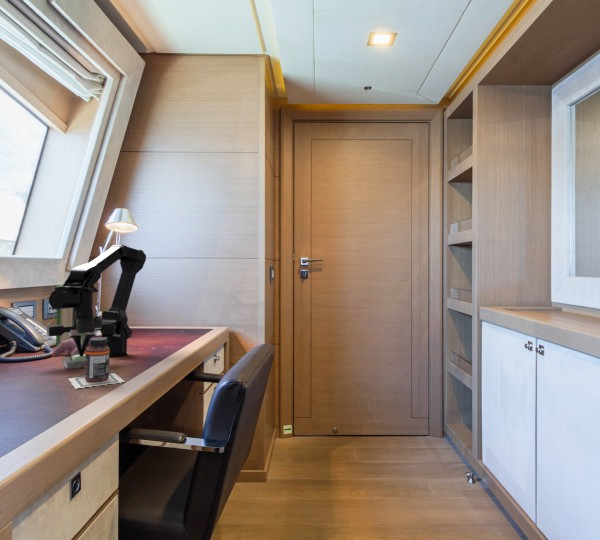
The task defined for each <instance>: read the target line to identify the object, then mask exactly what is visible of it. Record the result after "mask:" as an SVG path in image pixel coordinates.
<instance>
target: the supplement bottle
mask: <svg viewBox="0 0 600 540" xmlns="http://www.w3.org/2000/svg"><path fill="white" fill-rule="evenodd" d="M85 354H86V357H85V358H86V359H85V367H84V368H85V369H84V377H85V380H86V381H88V382H101V381H104V380H107V379H108V378H109V374H110V357H109V356H110V349H109V347H108V346H106V337H104V338H103V337H92V338H91V339H90V341H89V345H88V346H87V347H86V349H85Z"/></svg>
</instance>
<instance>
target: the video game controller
mask: <svg viewBox="0 0 600 540" xmlns="http://www.w3.org/2000/svg"><path fill="white" fill-rule="evenodd" d="M81 344H82V342H81ZM71 348H74V349H71ZM62 353H63V355H65V356H67V355H68V356H70V357H72V356H74V355H79V353H78V350H77V347H76V344H75V342H74V340H73V339H69V340H64V341H62V342H61V343H60V344H59V345H58V346H57V347H56V346H55V348H54V349H53V350H52V357H57V356H59V355H61V354H62Z"/></svg>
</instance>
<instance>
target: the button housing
mask: <svg viewBox="0 0 600 540" xmlns="http://www.w3.org/2000/svg"><path fill="white" fill-rule="evenodd" d="M62 364H63V366H64V368H65V369H66V368H67V369H66V370H70V369H71V370H72V368H73V369H79V368H80V369H81V367H83V368H85V360H84V361H74V362H72V357H71V356H67V357H62Z"/></svg>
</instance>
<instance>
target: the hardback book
mask: <svg viewBox="0 0 600 540" xmlns="http://www.w3.org/2000/svg"><path fill="white" fill-rule="evenodd" d="M63 284H64V283H62V284H57V286H63ZM59 324H62V325H63V326H64V327H70V326H72V308H67V309H56V325H59ZM68 334H69V333H63V334H62V335H61V336H55V338H56V339H55V348H56V347H57V346H58V345H59V344H60V343H61V342H62V341H64V340H69V339H73V338H70V337H69V336H68ZM79 335H81V342H82V335H83V333H82V334H80V333H79ZM73 349H74V348H71V350H73Z"/></svg>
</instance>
